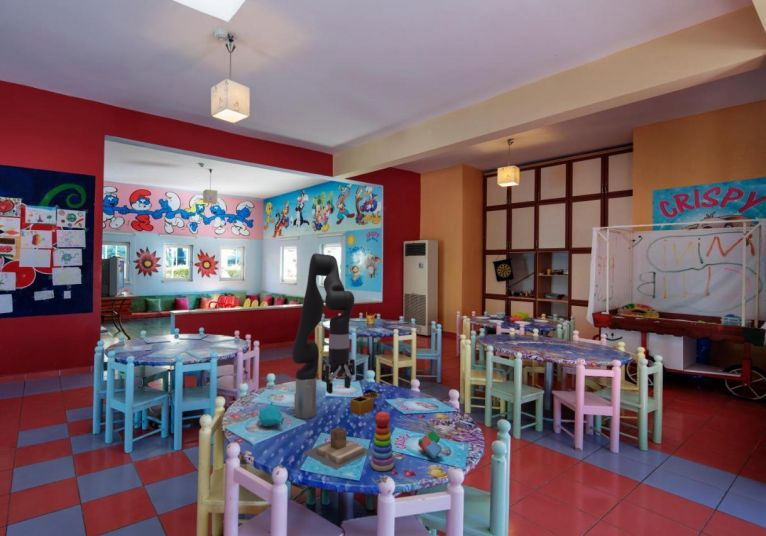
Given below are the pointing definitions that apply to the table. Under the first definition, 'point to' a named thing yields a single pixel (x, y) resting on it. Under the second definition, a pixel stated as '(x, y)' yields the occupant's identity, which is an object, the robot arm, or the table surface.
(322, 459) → the mat
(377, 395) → the spider toy trap
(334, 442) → the block
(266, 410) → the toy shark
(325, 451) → the tile
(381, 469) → the stacking toy
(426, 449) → the building blocks
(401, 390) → the table surface
